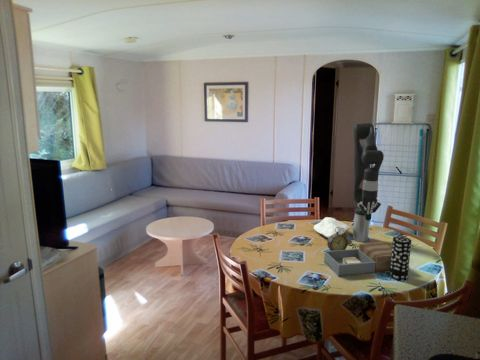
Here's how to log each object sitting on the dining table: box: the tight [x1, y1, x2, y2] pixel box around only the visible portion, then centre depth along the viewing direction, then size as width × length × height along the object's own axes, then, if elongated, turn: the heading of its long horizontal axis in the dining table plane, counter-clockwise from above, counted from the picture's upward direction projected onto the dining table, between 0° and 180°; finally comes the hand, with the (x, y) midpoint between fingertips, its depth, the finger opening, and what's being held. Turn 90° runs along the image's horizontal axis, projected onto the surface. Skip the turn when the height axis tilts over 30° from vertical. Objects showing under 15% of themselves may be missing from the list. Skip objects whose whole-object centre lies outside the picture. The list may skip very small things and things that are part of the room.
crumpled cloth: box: [313, 216, 351, 239], centre depth 241 cm, size 24×35×9 cm
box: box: [323, 248, 376, 278], centre depth 192 cm, size 18×20×6 cm
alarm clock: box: [326, 227, 348, 251], centre depth 209 cm, size 11×5×16 cm, turn 105°
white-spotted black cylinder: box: [389, 236, 412, 282], centre depth 180 cm, size 8×8×20 cm
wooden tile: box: [343, 257, 361, 264], centre depth 193 cm, size 7×7×3 cm
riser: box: [358, 241, 392, 274], centre depth 195 cm, size 18×14×9 cm
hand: (367, 220), depth 191 cm, fingers closed
